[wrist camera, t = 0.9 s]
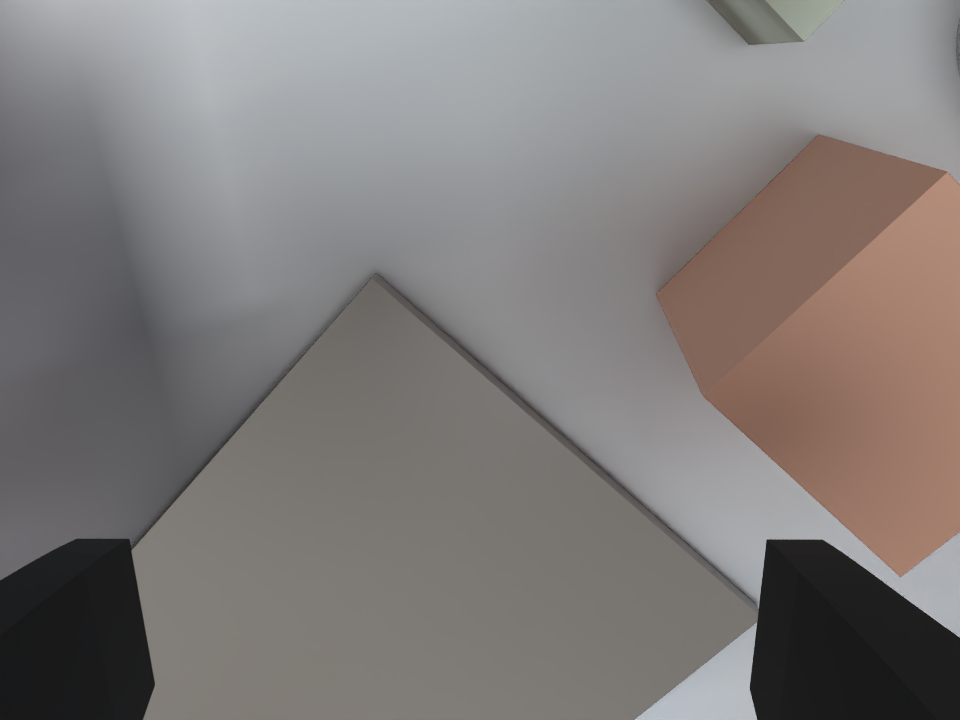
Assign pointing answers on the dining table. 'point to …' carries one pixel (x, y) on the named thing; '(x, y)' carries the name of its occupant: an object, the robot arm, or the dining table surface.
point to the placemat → (416, 554)
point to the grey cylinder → (958, 48)
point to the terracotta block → (840, 339)
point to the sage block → (775, 18)
